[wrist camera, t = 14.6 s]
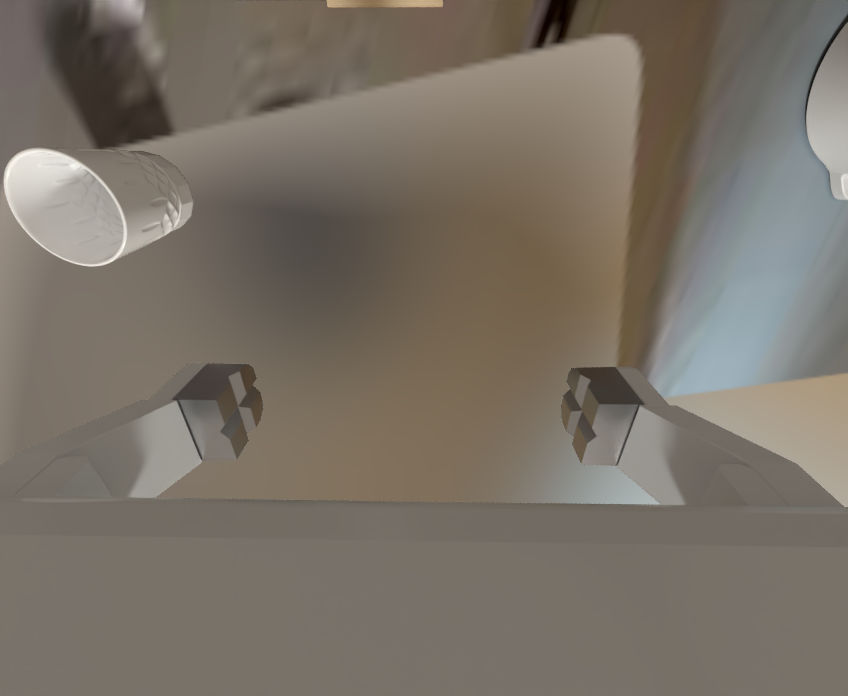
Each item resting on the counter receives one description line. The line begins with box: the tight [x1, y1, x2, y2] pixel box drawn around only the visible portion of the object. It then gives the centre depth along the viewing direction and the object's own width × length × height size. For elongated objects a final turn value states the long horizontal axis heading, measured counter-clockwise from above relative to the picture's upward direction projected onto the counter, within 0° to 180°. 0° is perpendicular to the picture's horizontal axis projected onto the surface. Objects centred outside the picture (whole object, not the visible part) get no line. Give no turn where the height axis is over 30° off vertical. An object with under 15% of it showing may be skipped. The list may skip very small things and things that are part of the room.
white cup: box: [4, 148, 193, 266], centre depth 31 cm, size 8×8×10 cm
